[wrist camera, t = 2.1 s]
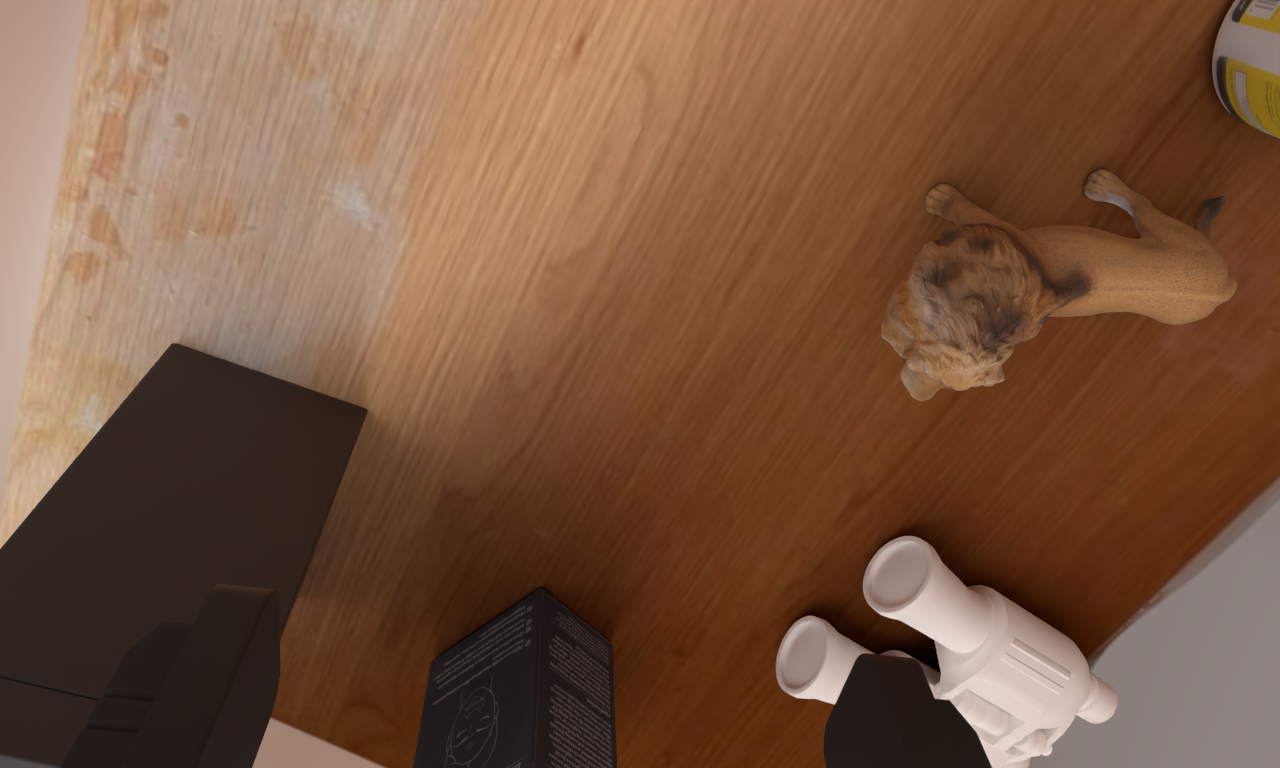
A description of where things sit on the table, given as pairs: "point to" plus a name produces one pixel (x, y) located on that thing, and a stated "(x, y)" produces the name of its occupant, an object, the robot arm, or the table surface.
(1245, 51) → the pill bottle
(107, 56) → the table surface
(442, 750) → the box
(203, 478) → the dark block with slot
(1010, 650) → the binoculars
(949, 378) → the lion figurine
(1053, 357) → the table surface
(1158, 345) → the table surface
